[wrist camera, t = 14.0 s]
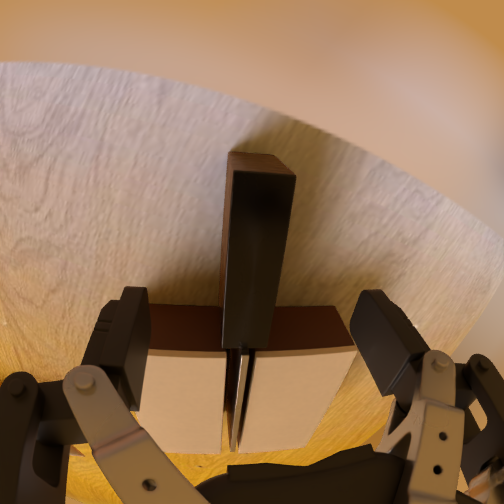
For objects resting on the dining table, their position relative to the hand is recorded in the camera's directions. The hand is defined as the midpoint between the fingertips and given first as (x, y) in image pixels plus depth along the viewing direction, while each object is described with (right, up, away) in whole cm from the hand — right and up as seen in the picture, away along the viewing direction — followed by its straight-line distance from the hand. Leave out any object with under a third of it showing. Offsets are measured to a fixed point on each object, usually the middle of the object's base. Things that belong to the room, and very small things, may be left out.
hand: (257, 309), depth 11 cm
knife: (-1, -3, +9) cm, 10 cm away
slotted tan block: (-2, -8, +12) cm, 14 cm away
